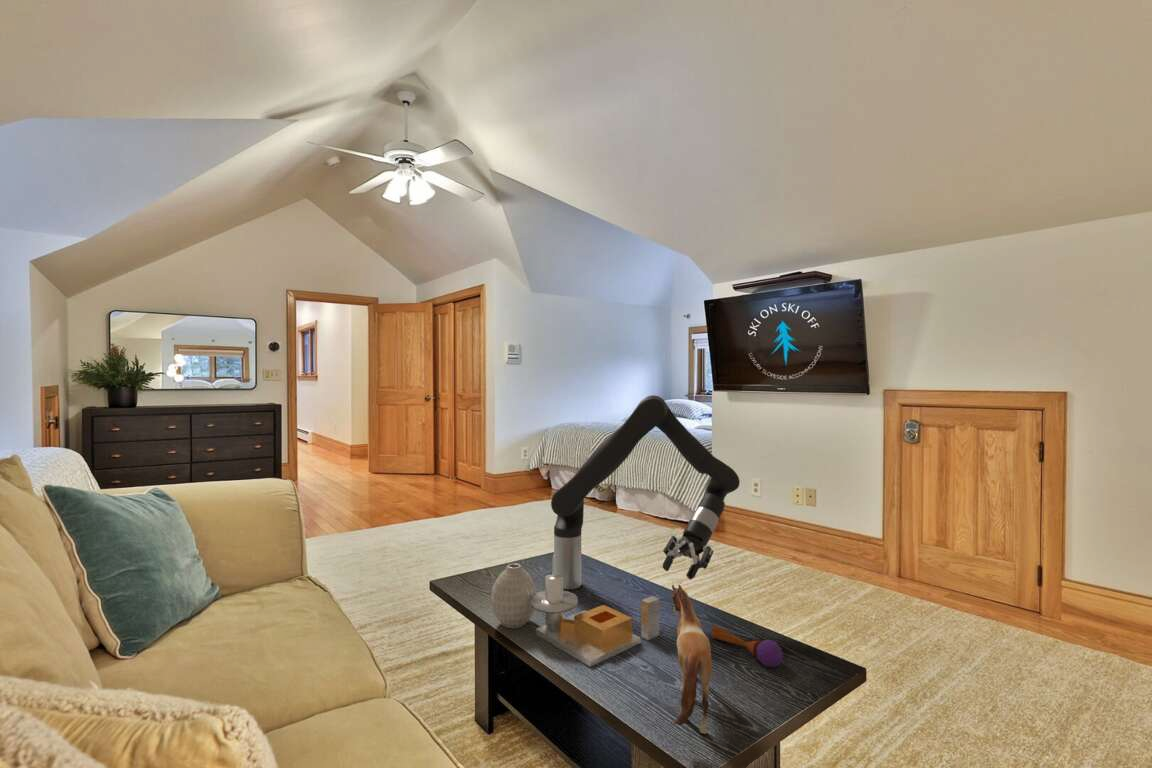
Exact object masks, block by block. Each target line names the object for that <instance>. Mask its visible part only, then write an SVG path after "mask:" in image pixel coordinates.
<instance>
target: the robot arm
mask: <svg viewBox="0 0 1152 768" xmlns="http://www.w3.org/2000/svg"><path fill="white" fill-rule="evenodd" d="M655 428H656V429H657V428H658V429H659V430H660V431H661V432H662V433H663V434H664V435H665V436H666V437H667V439H669V440H670V441H671V443H672V444H673V446H674V447H675V448H676V449H677V451H678V452H679V453H680V455H681V456H682V457H683V459H685V460H686V461H687V463H688V464H690V466H692V468H693V469H694V470H695V471H697V472H698V473H699V474H703V475H708V476H709V477H710V478H709V480H708V482H707V484H706V486H705V488H704V493H703V497H702V498H701V500H700V502H699V503H698V506H697V507H696V509H695V510H694V511H693V513H692V515H691V517H690V519H689V521H688V522H687V525H686V526H685V528H684V530H683V533H682V536H681V537H680V538H677V537H676V536H675V535H672V536H671V537H670V539H669V540H668V542H667V544H666V545H665V547H664V548H663V550H662V552H663V553H664V554H665V556H666V557H665V559H664V562H662V563H663V564H662V569H663V570H664V571H666V572H668V571H669V570H670V568H671V567H672V565H673V563H674V560H675V559H677V558H681V557H682V556H683V557H688V558H689V559H692V564H691V565H690V567H689V569H688V570H687V573H686V577H687V579H688V580H690V581H691V580H693V579H694V578H695V577H696V575H697V573H698V571H699V569H704V570H705V569H707V568H708V566H709V564H710V561H711V559H712V556H713V554H714V550H713V549H712V547H711V546H710V545H708V543H709V541H710V540H711V537H712V536H713V534H714V531H715V529H716V527H717V525H718V522H719V519H720V518H721V515H722V513H723V511H724V510H725V507H726V506H725V502H724V500H725V498H726V497H727V495H728V494H730V493H732V492H735V491H736V490H737V489H738V488H739V486H740V483H741V481H740V477H739V476H738V474H737V472H736V471H735V470H734V469H733V468H732V467H731V466H729V465H727V464H726V463H724V462H723V461H721V460H720V459H719V458H716V457H715V456H714V455H713V454H712V452H710V451H709V449H707V448H706V446H704V444H702V442H700V441H699V440H698V439H697V438H696V437H695V436H694V435H693V434H692V433H691V432H690V431H689V430H688V429H687V428H686V427H685V426H684V425H683V423H681V421H680V420H679V419H678V418H677V417H676V415H675V414H674V413H673V411H672V410H671V408H670V407H669V406H668V404H667V403H666V401H665V400H664V399H663V398H662V397H661V396H659V395H655V394H654V395H647V396H646V397H644V398H643V399H641V400H640V402H639V403H638V404H637V406H636V407H635V408H634V409H633V411H632V413H631V414H630V415H629V417H628V418H627V419H626V420H625V422H624V423H623V424H622V425H620V426H619V428H618V429H616V430H615V431H613V432H612V433H611V434H610V435H609V436H608V437H607V438H605V439H604V441H602V442H601V443H600V444H599V446H598V447H597V448H596V449H594V450H593V452H592V453H591V454H590V455H589V457H588V458H587V459H586V461H585V462H584V463H583V464H582V466H581V467H580V468H579V470H577V472H576V473H575V474H574V475H573V476H572V477H571V478H570V479H569V480H568V481H567V482H566V483H565V484H564V485H562V486H561V487H560V488H559V489H558V490H556V491H555V492H554V493H553V495H552V497H551V501H550V506H551V507H550V508H551V510H552V511H553V513H554V514H556V515H557V516H556V520H555V524H554V527H553V555H552V561H551V562H552V565H551V566H552V567H551V568H552V570H551V571H552V572H551V574H558V575H561V576H563V590H564V589H565V590H564V591H568V590H569V589H571V590H576V589H579V588H580V587H581V586H582V531H583V524H584V512H585V511H584V509H585V508H584V506H585V500H584V499H585V498H586V497H587V496H588V494H590V492H592V491H593V490H594V489H595V488H596V487H597V486H599V485H600V484H602V483H603V482H604V481H606V480H607V478H609V477H610V476H611V475H612V474H613V473H614V472H615V471H616V470H617V469H618V468H619V467H620V466H621V465H622V464H623V463H624V462H625V461H626V459H627V458H628V457H629V456H630V454H631V453H632V452H633V450H634V449H635V447H636V445H638V443H639V442H640V441H641V440H642V439H643V438H644V437H645V436H646V435H647V434H648V433H650V432H651V431H652V430H653V429H655ZM700 554H702V555H700ZM566 589H567V590H566Z"/></svg>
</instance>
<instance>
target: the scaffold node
mask: <svg viewBox="0 0 1152 768" xmlns="http://www.w3.org/2000/svg"><path fill="white" fill-rule="evenodd" d="M544 579H545V581H544V582H545V583H544V584H545V590H542V591H538V592H536V594H534V595H533V596H532V597H531V599H530V605H531V607H532V608H534V609H535V610H534V611H538V612H541V613H545V616H544V618H545V619H544V620H545V623H544V625H542V626H540V627H536V628H535V635H536V636H538V637H540V638H541V637H542V638H541V639H543V638H544V639H543V640H545V639H546V640H547V641H546V640H545V641H546V642H548V641H549V642H548V643H549V644H551V643H552V644H551V645H553V646H555V647H556V648H557V649H559V650H561V651H562V652H565V653H566V654H568V655H569V656H571V657H573V658H574V659H576V660H578V661H579V662H581V663H583V664H584V665H586V666H588V667H589V668H591V667H593V666H596V665H597V664H600V663H601V662H604V661H606V660H607V659H610V658H613V657H614V656H616V655H618V654H620V653H622V652H625V651H627V650H629V649H631V648H634V647H635V646H637V645H641V636H638V635H636V634H634V633H633V617H632V616H629V615H626V614H625V613H622V612H620V611H618V610H616V609H614V608H611V607H609V606H607V605H606V604H602V605H599V606H597V607H594V608H591V609H589V610H585V609H584V610H581V611H580V612H577V613H574V614H571V615H569V616H568V615H567V616H565V617H564V613H567V612H569V611H572V610H574V609H575V608H576V607H577V606H579V605H578V603H579V598H578V596H577V595H576V594H575V593H573V592H570V591H568V590H564V589H563V576H561V575H558V574H552V573H551V574H547V575H546V576H545V578H544Z"/></svg>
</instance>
